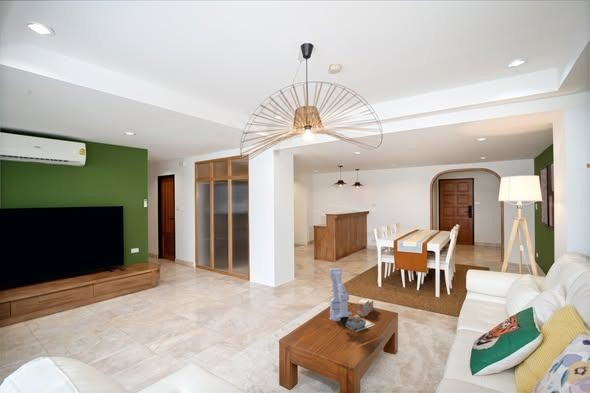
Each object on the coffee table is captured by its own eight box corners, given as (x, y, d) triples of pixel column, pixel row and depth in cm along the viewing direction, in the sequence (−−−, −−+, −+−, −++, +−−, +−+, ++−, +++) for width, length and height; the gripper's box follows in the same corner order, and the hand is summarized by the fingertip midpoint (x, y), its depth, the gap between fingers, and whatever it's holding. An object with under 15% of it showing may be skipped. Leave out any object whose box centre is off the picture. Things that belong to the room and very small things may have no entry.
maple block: (356, 320, 231) (356, 314, 231) (360, 322, 227) (360, 316, 227) (352, 322, 229) (352, 316, 228) (356, 324, 225) (356, 317, 225)
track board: (344, 326, 230) (344, 325, 230) (363, 319, 241) (363, 318, 241) (355, 333, 219) (355, 331, 219) (375, 325, 230) (375, 324, 230)
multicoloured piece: (366, 308, 265) (366, 295, 265) (373, 310, 261) (373, 296, 261) (357, 316, 248) (356, 302, 248) (363, 318, 244) (363, 304, 244)
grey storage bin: (345, 325, 229) (345, 319, 229) (355, 321, 235) (355, 316, 235) (354, 330, 219) (354, 325, 219) (365, 326, 226) (365, 321, 226)
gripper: (340, 312, 213) (340, 330, 214) (354, 308, 221) (354, 325, 221) (334, 309, 219) (334, 326, 220) (348, 305, 227) (348, 321, 227)
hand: (344, 325), depth 221 cm, fingers closed
